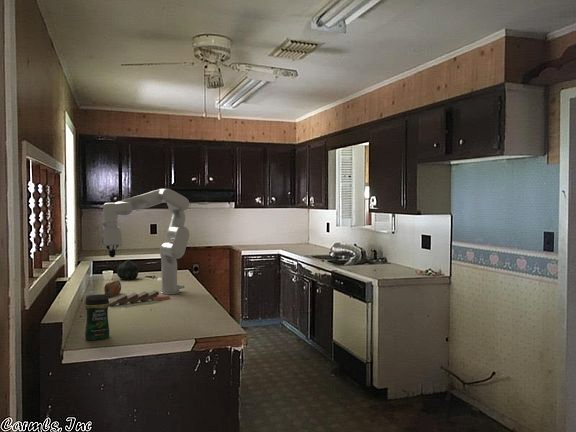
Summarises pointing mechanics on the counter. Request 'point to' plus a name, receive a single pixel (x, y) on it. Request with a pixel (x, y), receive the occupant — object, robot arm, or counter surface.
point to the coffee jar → (97, 317)
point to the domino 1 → (117, 300)
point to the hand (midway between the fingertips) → (112, 256)
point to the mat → (132, 304)
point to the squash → (127, 270)
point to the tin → (112, 288)
